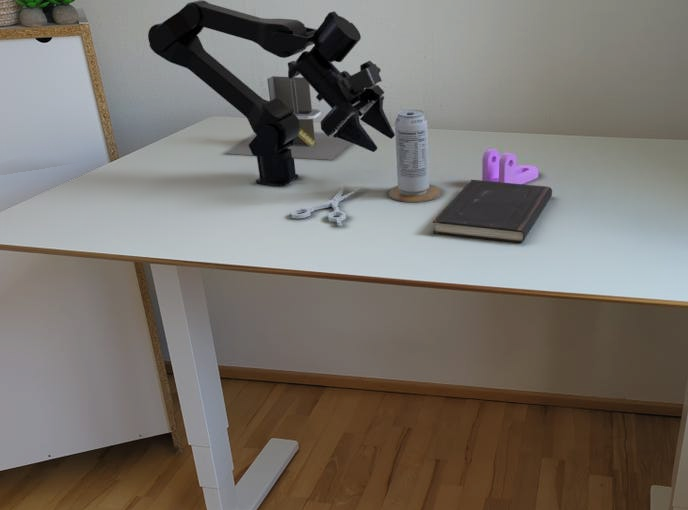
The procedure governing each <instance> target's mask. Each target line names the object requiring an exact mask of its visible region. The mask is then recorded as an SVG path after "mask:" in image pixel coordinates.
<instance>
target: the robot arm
mask: <svg viewBox="0 0 688 510" xmlns="http://www.w3.org/2000/svg"><path fill="white" fill-rule="evenodd" d="M204 28H206V29H209V30H213V31H216V32H220V33H223V34H226V35H230V36H234V37H236V38H240V39H244V40H247V41H251V42H253V43H255V44H257V45H258V46H259V47H261V48H262V49H263V50H264V51H266V52H268V53H270V54H272V55H274V56H276V57H279V58H283V59H287V58H289V57H291V56H292V57H293V56H294V55H297V54H300V55H299V56H298V58H297V59H296V60H292V61H289V62H287V67H288V72H287V77H289V78H290V79H291V78H293V77H299V75H300V76H301V77H303V78H304V79H305V80H306V81H307V82H308V83H309V85H310V87H312V89H313V90H314V91H315V92H316V93H317V94H316V96H315V98H316V99H317V100H318V102H321V101H322V100H323V101H324V102H325V103H326V104H327V105H328V106H329V107H330V108H331V109H330V110H329V111H328V113H326V114H325V116H324V117H323V118H322V120H321V121H320V129H321V131H322V132H323V134H326V135H327V136H328V137H329V136H330V135H332V134H334V135H333V137H334V138H336V137H337V138H340V139H343V140H345V141H348V142H351V144H353V145H355V146H358V147H361V148H363V149H365V150H368V151H370V152H372V153H375V152H376V151H377V150H378V146H377V145H376V143H375V142H374V140H373V139H372V137H371V135H369V133H368V132H367V131H366V130H365V128H364V127H363V126H362V124H361V122H360V121H362V122H363V123H364V124H366V125H368V126H370V127H371V128H372V129H374V130H376V131H377V132H379V133H380V134H382V135H383V136H385V137H387V138H389V139H392V140H393V138H394V137H396V135H395V131H394V130H393V128H392V126H391V123H390V121H389V120H388V117H387V115H386V113H385V110H384V100H385V96H384V95H385V91H384V90H383V89H382V88H381V87H380V86H379V84H378V83H380V82H382V77H381V75H380V73H381V71H382V70H381V68H380V67H379V66H377V64H376V63H373V62H372V61H371V60H367V61H366V62H363V63H362V64H360V66H359V68H360V69H359V71H357V72H356V73H353V74H350V73H349V72H348V71H347V70H343V71H340V70H339V68H337V67H336V66H335V64H333V63H334V62H336V63H341V62H343V60H344V59H345V58H346V57H347V56H348V55H349V54H350V52H351V51H352V50H353V49H354V47H355V46H356V45H357V44H358V43H359V42H360V41H361V39H362V36H361V33H360V31H359V29H358V28H357V27H356V25H355V24H354V23H353V22H351V21H349V20H348V19H346V18H345V17H343V16H341V15H339V14H338V13H337V12H336V11H335V10H334V11H330V12H328V14H327V15H326V16H325V17H324V19H323V21H322V23H321V24H320V25H319V26H318V28H312V27H307V26H305V24H304V23H303V22H302V21H300V20H298V19H289V18H263V17H259V16H255V15H251V14H248V13H245V12H241V11H238V10H234V9H231V8H227V7H223V6H220V5H217V4H213V3H210V2H208V1H206V0H195V1H191V2H188V3H186V4H185V5H184V6H183V7H182V8H181V9H180V10H179V11H177V12H176V13H174V14H173V15H172V16H169V18H167V19H165V20H164V21H162V22H160V23H156V24H153V25H152V26H151V27H150V28H149V29H148V32H147V40H148V43H149V45H148V46H149V48H150V49H151V50H152V52H153V53H154V54H156V55H157V56H159V57H160V58H162V59H164V60H166V61H167V62H169V63H172V64H174V65H176V66H179V67H183V68H185V69H187V70H189V71H190V72H191V73H192V74H194V75H195V77H197V78H198V79H200V80H201V81H202V82H204V83H205V84H206V85H207V86H208V87H209V88H211V90H213V91H214V92H215V93H217V94H218V95H219V96H220V97H221V98H222V99H223V100H225V101H226V102H228V103H229V104H230V105H231V106H232V107H233V108H235V109H236V110H237V111H238V112H240V113H241V114H242V115H243V116H244V117H245V118H246V119H247V121H248V123H249V125H250V127H251V130H252V131H253V133H254V134H255V135H256V137H255V138H254V139H253V140H252V141H251V143H250V144H249V148H250V150H251V152H252V154H253V155H252V156H256V161H257V169H258V175H259V178H257V179H255V183H256V184H261V185H269V186H278V187H284V186H286V185H288V184H290V183H291V182H293V181H295V180H296V179H298V178H299V174H297V173H296V164H295V158H293V157H292V153H291V149H288V147H290V146H293V145H294V140H295V138H296V137H297V136H298V134H299V131H300V125H299V119H298V118H297V116H296V115H295V114H294V113H292V112H294V110H293V109H291V108H289V107H287V106H286V105H285V104H284V103H283V102H282V100H280V99H279V98H275V99H273V100H271V101H270V100H267V99H264V98H263V97H262V96H260V95H259V94H257V92H255V91H254V90H252V88H251V87H249V86H248V85H247V84H246V83H244V82H243V81H242V80H241V79H240V78H239V77H238V76H236V75H235V74H234V73H233V72H232V71H230V69H228V68H227V67H225V66H224V65H223V64H222V63H220V62H219V61H218V60H217V59H216V58H214V57H213V56H212V55H211V54H210V53H209V52H208V51H206V49H205V48H204V46H203V44H202V41H201V39H200V37H199V34H200V33H201V32H202V31H203V29H204ZM310 46H312V48H311V49H310V50H309V51H308V50H306V49H307V48H308V47H310Z"/></svg>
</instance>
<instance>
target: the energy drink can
mask: <svg viewBox="0 0 688 510" xmlns="http://www.w3.org/2000/svg"><path fill="white" fill-rule="evenodd" d="M428 129H429V127H428V120H427V118H426V117H425V112H424V111H423V110H420V109H403V110H400V111H398V112H397V117H396V119H395V121H394V130H395V131H394V134H395V153H396V154H395V155H396V171H397V172H396V173H397V174H396V175H397V186H398V188H399V189H400V190H401V193H403V194H405V195H410V196H416V195H422V194H424V193H426V192H427V189H428V188H429V185H430V166H429V165H430V163H429V130H428Z"/></svg>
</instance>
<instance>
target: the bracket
mask: <svg viewBox="0 0 688 510" xmlns="http://www.w3.org/2000/svg"><path fill="white" fill-rule="evenodd" d="M500 154H501V153H500V151H499V150H497V149H494V148H487V149H486V150H485V151H484V152H483V155H482V159H481V161H482V163H481V164H482V169H481V170H482V171H481V181H492V182H503V183H513V184H524V185H525V184H526V183H529V182H532V181H533V180H536V179H538V178H539V167H537V166H535V165H529V164H519V165H517V160H518V159H517V157H516V154H514V153H512V152H503V154H502V155H500Z"/></svg>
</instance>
